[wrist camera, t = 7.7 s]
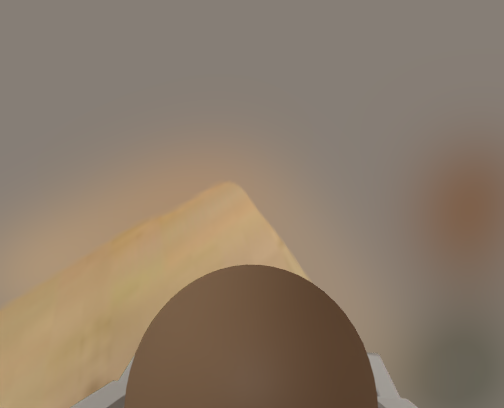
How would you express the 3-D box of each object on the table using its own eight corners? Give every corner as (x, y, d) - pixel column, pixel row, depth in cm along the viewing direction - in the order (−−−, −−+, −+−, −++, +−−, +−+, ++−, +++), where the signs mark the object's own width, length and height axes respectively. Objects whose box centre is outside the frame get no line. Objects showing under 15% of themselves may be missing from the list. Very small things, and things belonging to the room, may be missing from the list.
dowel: (211, 430, 14) (74, 509, 4) (233, 340, 16) (176, 247, 6) (296, 455, 14) (375, 620, 4) (307, 358, 16) (379, 288, 6)
